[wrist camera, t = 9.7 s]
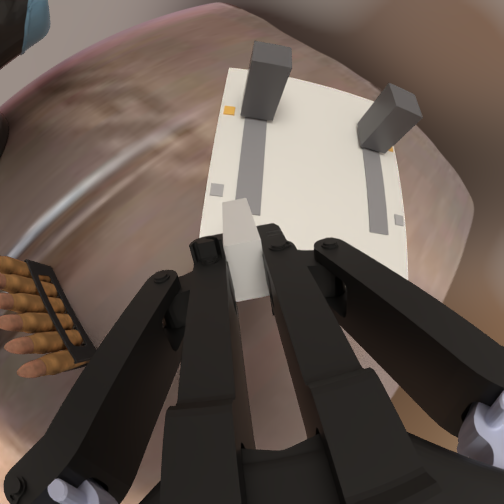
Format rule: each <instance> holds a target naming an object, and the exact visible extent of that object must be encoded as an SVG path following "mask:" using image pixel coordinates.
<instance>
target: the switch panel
mask: <svg viewBox="0 0 504 504" xmlns="http://www.w3.org/2000/svg"><path fill="white" fill-rule="evenodd" d="M247 74H248V70H245V69H237V68H229V72H228V76H227V81H226V85H225V90H224V95H223V99H222V104H221V109H220V114H219V119H218V124H217V130H216V135H215V140H214V146H213V151H212V157H211V163H210V169H209V175H208V181H207V187H206V194H205V200H204V207H203V214H202V221H201V228H200V236H199V238H201V237H204V236H211V235H216V234H222V233H223V219H222V202H227V201H232V200H237V199H242V198H246V199H247V201H248V204H249V207H250V210H251V213H252V216H253V218H254V221H255V224H256V226H259V225H264V224H270V223H274V224H276V225H278V226H279V227H280V229H281V231H282V232H283V234H284V236H285V238H286V240H287V241H290V242H292V243H293V244H294V245H295V246H296V248H297V250H314V243H315V242H316V241H318V240H321V239H325V238H328V237H329V238H330V237H333V238H337V239H341V240H343V241H345V242H346V243H348V244H350V245H352V246H353V247H355V248H357V249H358V250H360V251H362V252H363V253H365V254H367V255H368V256H370V257H371V258H373V259H375V260H376V261H378V262H380V263H381V264H383V265H384V266H386V267H388V268H389V269H391V270H392V271H394V272H396V273H397V274H399V275H400V276H402V277H403V278H405V279H407V280H408V259H407V241H406V228H405V217H404V208H403V199H402V192H401V185H400V178H399V172H398V166H397V161H396V155H395V150H394V145H393V146H392V147H391V148H390V149H389V150H388V151H387V152H386V153H385V154H384V153H381V152H378V151H375V150H372V149H368V148H365V147H362V146H360V139H359V133H358V126H357V123H358V122H359V121H360V119H361V118H362V117H363V115H364V114H365V113H366V112H367V110H368V109H369V108H370V106H371V105H372V104H373V103H374V102H373V101H371V100H368V99H365V98H362V97H359V96H356V95H353V94H350V93H347V92H344V91H340V90H337V89H334V88H330V87H327V86H323V85H319V84H315V83H312V82H307V81H303V80H299V79H295V78H290V77H288V80H287V83H286V85H285V88H284V91H283V94H282V96H281V99H280V102H279V105H278V107H277V110H276V113H275V116H274V118H273V121H270V120H264V119H258V118H252V117H245V116H240V114H241V107H242V101H243V94H244V89H245V84H246V79H247Z"/></svg>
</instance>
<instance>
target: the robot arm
mask: <svg viewBox="0 0 504 504" xmlns="http://www.w3.org/2000/svg"><path fill="white" fill-rule="evenodd" d="M49 28H50V14H49V6H48V0H0V69H2V68H3V67H4V66H5V65H7V64H8V63H9V62H11V61H12V60H13V59H15V58H16V57H17V56H19V55H22V54H24V53H25V51H26V50H27V49H29V48H30V47H31V46H33V45H34V44H36V43H37V42H39V41H40V40H41V39H43V38H44V37H45V36H46V34H47V33H48V31H49ZM8 131H9V126H8V121H7V120H6V118H5V117H4V116H3V115H2V113H1V112H0V156H1V154H2V152H3V150H4V147H5V144H6V141H7V137H8ZM222 219H223V233H222V234H216V235H211V236H204V237H201V238H198V239H196V240H194V241H193V242H191V243H190V245H189V247H190V251H191V254H192V258H193V261H194V268H193V271H192V272H190V273H188V274H186V275H183V276H180V277H178V275H177V273H176V271H173V270H162V271H160V272H156V273H155V274H154V275H152V276H151V277H150V278H149V279H148V280H147V281H146V282H145V284H144V285H143V286H142V288H141V289H140V290H139V292H138V293H137V294H136V296H135V297H134V298H133V300H132V301H131V302H130V304H129V305H128V306H127V308H126V309H125V311H124V312H123V313H122V315H121V316H120V318H119V319H118V320H117V322H116V323H115V325H114V326H113V327H112V329H111V330H110V332H109V333H108V334H107V336H106V337H105V339H104V340H103V342H102V343H101V345H100V346H99V348H98V349H97V351H96V352H95V354H94V355H93V356H92V358H91V360H90V361H89V363H88V364H87V366H86V367H85V369H84V370H83V372H82V373H81V375H80V376H79V378H78V380H77V381H76V383H75V384H74V386H73V387H72V389H71V391H70V392H69V394H68V396H67V397H66V399H65V401H64V402H63V404H62V406H61V407H60V409H59V411H58V412H57V414H56V416H55V417H54V419H53V421H52V423H51V424H50V426H49V428H48V430H47V432H46V433H45V435H44V436H43V437H42V438H41V439H40V440H39V441H38V442H37V443H36V444H35V445H34V446H33V447H32V448H31V449H30V450H29V451H28V452H27V453H26V454H25V455H24V456H23V457H22V458H21V459H20V460H19V461H18V462H17V463H16V464H15V465H14V466H13V467H12V468H11V469H10V470H9V472H8V473H7V475H6V476H5V480H4V493H5V496H6V498H7V500H8V501H9V503H10V504H120V503H121V502H122V501H123V499H124V498H125V496H126V494H127V493H128V491H129V489H130V488H131V486H132V483H133V481H134V479H135V476H136V474H137V471H138V469H139V466H140V463H141V461H142V458H143V455H144V453H145V450H146V447H147V445H148V442H149V440H150V437H151V434H152V432H153V429H154V427H155V424H156V421H157V419H158V416H159V414H160V411H161V409H162V406H163V404H164V401H165V399H166V396H167V394H168V391H169V389H170V386H171V384H172V381H173V379H174V376H175V374H176V371H177V369H178V367H179V364H180V362H181V368H180V379H179V390H178V401H177V404H176V406H170V407H169V408H168V410H167V412H166V417H165V426H164V438H163V451H162V466H161V481H160V482H159V483H158V484H157V485H156V486H155V487H154V488H153V489H152V490H151V491H150V492H149V493H148V494H147V495H146V497H145V498H144V499H143V500H142V501H141V502H140V503H139V504H504V347H503V346H501V345H499V344H498V343H497V342H495V341H494V340H493V339H491V338H490V337H489V336H487V335H486V334H484V333H483V332H482V331H481V330H479V329H478V328H477V327H475V326H474V325H472V324H471V323H470V322H468V321H467V320H465V319H464V318H463V317H461V316H460V315H458V314H457V313H456V312H454V311H453V310H451V309H450V308H448V307H447V306H446V305H444V304H443V303H441V302H440V301H438V300H437V299H435V298H434V297H432V296H431V295H429V294H428V293H426V292H425V291H423V290H422V289H420V288H419V287H417V286H416V285H414V284H413V283H411V282H410V281H408V280H407V279H405V278H403V277H402V276H400V275H399V274H397V273H396V272H394V271H392V270H391V269H389V268H388V267H386V266H384V265H383V264H381V263H380V262H378V261H376V260H375V259H373V258H371V257H370V256H368V255H367V254H365V253H363V252H362V251H360V250H358V249H357V248H355V247H353V246H352V245H350V244H348V243H346V242H345V241H343V240H341V239H337V238H333V237H330V238H329V237H328V238H325V239H321V240H318V241H316V242H315V243H314V250H297V248H296V246H295V245H294V244H293V243H292V242H290V241H287V240H286V238H285V236H284V234H283V232H282V231H281V229H280V227H279V226H278V225H276V224H274V223H270V224H264V225H259V226H256V224H255V221H254V218H253V216H252V213H251V210H250V207H249V204H248V201H247V199H246V198H242V199H237V200H232V201H227V202H222ZM265 296H270V300H271V306H272V313H273V315H275V319H276V323H277V326H278V330H279V334H280V337H281V341H282V345H283V348H284V352H285V356H286V359H287V363H288V367H289V370H290V374H291V378H292V381H293V385H294V389H295V392H296V396H297V400H298V404H299V407H300V411H301V415H302V418H303V422H304V426H305V430H306V434H307V440H305V441H303V442H301V443H299V444H296V445H294V446H292V447H290V448H288V449H285V450H281V451H272V450H256V447H255V442H254V436H253V428H252V421H251V414H250V406H249V399H248V391H247V383H246V375H245V367H244V359H243V351H242V343H241V334H240V326H239V317H238V308H237V304H236V302H239V301H244V300H249V299H254V298H260V297H265ZM235 299H236V300H235ZM162 322H163V323H162ZM340 326H341V327H342V328H343V329H344V330H345V331H346V332H347V333H348V334H349V335H350V336H351V337H352V338H353V339H354V340H355V341H356V342H357V343H358V344H359V345H360V346H361V347H362V348H363V349H364V350H365V351H366V352H367V353H368V354H369V355H370V356H371V357H372V358H373V359H374V360H375V361H376V362H377V363H378V364H379V365H380V366H381V367H382V368H383V369H384V370H385V371H386V372H387V373H388V374H389V375H390V376H391V377H392V378H393V379H394V380H395V381H396V382H397V383H398V384H399V385H400V386H401V387H402V388H403V389H404V391H406V393H407V394H408V395H409V396H410V397H411V398H412V399H413V400H414V401H415V402H416V403H417V404H418V405H419V406H420V407H421V408H422V409H423V410H424V411H425V412H426V413H427V414H428V415H429V416H430V417H431V418H432V419H433V420H434V421H435V422H436V423H437V424H438V425H439V426H441V427H442V428H443V429H445V430H446V431H448V432H449V433H450V434H452V435H454V436H456V437H458V442H459V443H458V446H457V452H458V453H456V452H453V451H451V450H448V449H445V448H443V447H441V446H438V445H436V444H434V443H431V442H429V441H427V440H424V439H422V438H420V437H418V436H415V435H413V434H410V433H408V432H406V429H405V427H404V425H403V423H402V421H401V419H400V417H399V415H398V413H397V412H396V410H395V408H394V406H393V404H392V402H391V400H390V398H389V396H388V394H387V392H386V390H385V388H384V386H383V384H382V383H381V381H380V379H379V377H378V375H377V374H376V372H375V371H374V370H373V369H371V368H370V367H369V368H366V369H364V368H362V366H361V365H360V363H359V361H358V359H357V357H356V355H355V353H354V352H353V350H352V348H351V346H350V344H349V342H348V340H347V338H346V336H345V334H344V333H343V331H342V329H341V327H340Z"/></svg>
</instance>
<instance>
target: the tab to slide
mask: <svg viewBox="0 0 504 504" xmlns="http://www.w3.org/2000/svg"><path fill="white" fill-rule="evenodd" d="M291 69H292V51H291V48H290V47H285V46H281V45H276V44H270V43H264V42H258V41H254V46H253V51H252V55H251V60H250V65H249V69H248V74H247V79H246V84H245V89H244V94H243V101H242V107H241V114H240V116H245V117H252V118H258V119H264V120H270V121H273V118H274V116H275V113H276V110H277V107H278V105H279V102H280V99H281V96H282V94H283V91H284V88H285V85H286V83H287V80H288V77H289V75H290V72H291Z"/></svg>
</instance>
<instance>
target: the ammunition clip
mask: <svg viewBox="0 0 504 504" xmlns="http://www.w3.org/2000/svg"><path fill="white" fill-rule="evenodd" d="M0 290H3V291H6V292H8V293H0V309H5V310H10V311H15V312H17V313H20V314H16V315H14V314H10V315H3V316H0V328H1V329H4V330H8V331H20V332H26V333H35V334H33V335H30V336H26V337H19V338H16V339H13V340H11V341H9V342H8V343H6V345H5V346H4V349H5V350H7V351H9V352H11V353H15V354H32V353H37V354H45V353H49V354H46V355H44V356H43V357H41V358H38V359H36V360H32V361H30V362H27V363H25V364H24V365H22V366H21V367H20V368H19V369H18V371H17V374H18V375H19V376H21V377H25V378H36V377H40V376H45V375H55V374H58V373H61V372H66V371H69V370H73V369H77V368H81V367H84V366H87V364H88V363H89V361H90V360H91V358H92V356H93V355H94V354H95V352H96V351H97V350H96V349H95V347H94V346H93V344H92V342H91V341H90V339H89V338H88V336H87V334H86V333H85V331H84V329H83V327H82V326H81V324H80V322H79V320H78V319H77V317H76V315H75V313H74V311H73V310H72V308H71V306H70V304H69V302H68V300H67V298H66V296H65V294H64V292H63V290H62V288H61V286H60V284H59V282H58V280H57V278H56V275H55V273H54V271H53V269H52V267H50V266H47V265H44V264H40V263H37V262H34V261H31V260H27V259H26V260H25V261H24V262H23V261H20V260H17V259H14V258H11V257H8V256H0ZM65 349H66V350H65ZM60 350H62V351H60ZM50 352H52V353H50Z"/></svg>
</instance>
